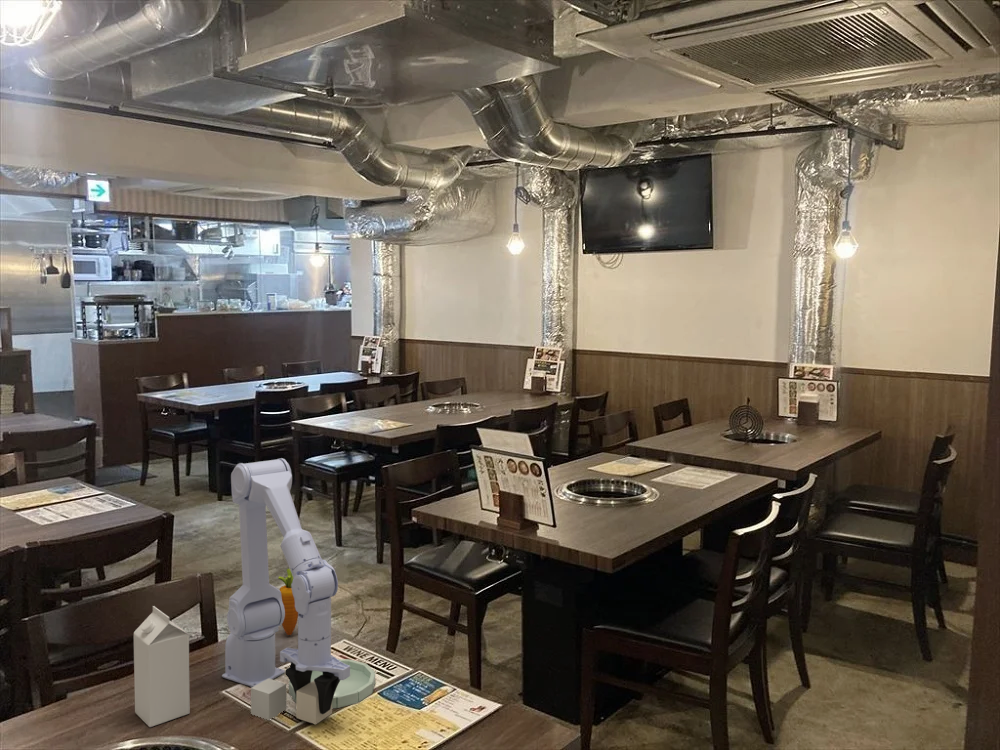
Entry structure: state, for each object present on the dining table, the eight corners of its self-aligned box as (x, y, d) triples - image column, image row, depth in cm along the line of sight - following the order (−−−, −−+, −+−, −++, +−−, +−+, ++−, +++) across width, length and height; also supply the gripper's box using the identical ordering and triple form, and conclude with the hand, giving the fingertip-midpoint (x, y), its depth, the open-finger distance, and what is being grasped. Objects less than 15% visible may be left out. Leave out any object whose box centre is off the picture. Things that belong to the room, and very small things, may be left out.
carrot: (294, 641, 173) (294, 575, 172) (273, 639, 174) (273, 573, 173) (304, 632, 178) (304, 567, 177) (284, 630, 179) (284, 566, 178)
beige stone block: (296, 717, 140) (296, 690, 139) (313, 707, 144) (313, 680, 143) (315, 724, 138) (315, 697, 137) (332, 713, 142) (332, 686, 141)
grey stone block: (250, 714, 142) (250, 688, 142) (268, 704, 146) (268, 678, 146) (269, 720, 140) (269, 694, 140) (286, 710, 144) (286, 683, 144)
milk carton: (174, 699, 147) (172, 601, 145) (190, 714, 142) (188, 612, 140) (134, 713, 142) (132, 611, 140) (149, 728, 137) (147, 622, 135)
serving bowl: (272, 694, 149) (272, 684, 149) (327, 662, 163) (327, 652, 163) (338, 716, 142) (338, 705, 142) (390, 680, 156) (390, 670, 156)
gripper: (267, 633, 139) (267, 707, 140) (331, 652, 132) (331, 729, 134) (295, 620, 145) (295, 690, 147) (358, 637, 139) (357, 710, 140)
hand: (314, 707), depth 140 cm, fingers closed on beige stone block, 4 cm apart
